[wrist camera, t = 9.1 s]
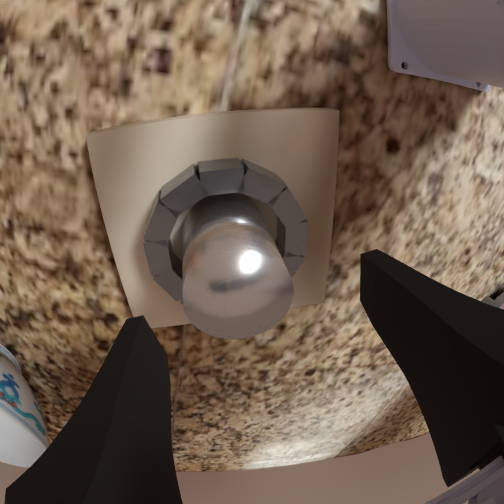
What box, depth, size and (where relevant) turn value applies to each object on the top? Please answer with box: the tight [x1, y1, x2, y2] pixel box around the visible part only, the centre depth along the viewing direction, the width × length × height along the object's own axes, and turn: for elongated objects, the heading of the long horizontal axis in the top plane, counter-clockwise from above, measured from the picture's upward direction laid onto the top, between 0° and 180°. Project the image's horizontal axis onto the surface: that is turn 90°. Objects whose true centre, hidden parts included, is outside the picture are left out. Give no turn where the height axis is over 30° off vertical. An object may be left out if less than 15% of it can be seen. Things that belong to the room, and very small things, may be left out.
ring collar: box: [143, 157, 308, 304], centre depth 17 cm, size 8×8×2 cm
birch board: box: [86, 108, 340, 328], centre depth 18 cm, size 13×13×1 cm
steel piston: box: [183, 193, 294, 339], centre depth 15 cm, size 4×4×6 cm
